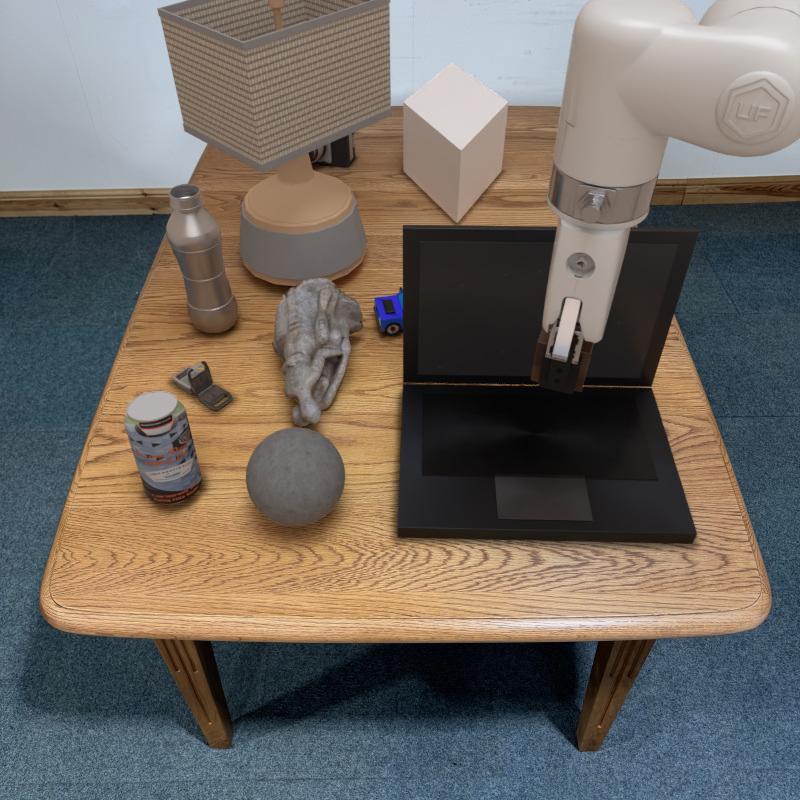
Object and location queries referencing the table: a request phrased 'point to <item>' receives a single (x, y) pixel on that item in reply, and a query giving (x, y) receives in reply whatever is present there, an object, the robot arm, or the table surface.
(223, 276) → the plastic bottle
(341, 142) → the camera
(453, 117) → the block
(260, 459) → the decorative ball
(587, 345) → the block
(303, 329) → the sculpture
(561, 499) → the laptop
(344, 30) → the desk lamp
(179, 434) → the beverage can
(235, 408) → the table surface
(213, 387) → the strap clip
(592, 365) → the laptop screen
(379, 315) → the toy car
